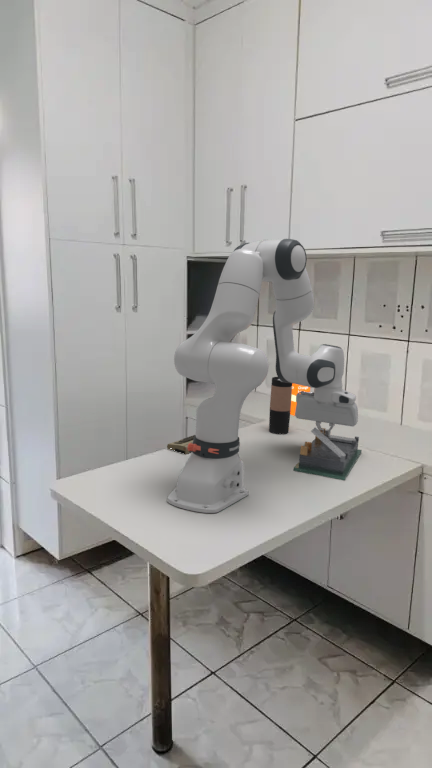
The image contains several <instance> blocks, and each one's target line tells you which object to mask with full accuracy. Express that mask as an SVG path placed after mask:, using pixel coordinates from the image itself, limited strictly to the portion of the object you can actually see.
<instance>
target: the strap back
mask: <svg viewBox="0 0 432 768" xmlns="http://www.w3.org/2000/svg"><path fill="white" fill-rule="evenodd" d="M323 435H325V434H323ZM326 437H327V438H328V439H329V440H334V441H341V442H347V443H352V440H356V439H355V437H354V438H352V437H346V436H339V435H334V434H333V435H332V434H330V436H326Z"/></svg>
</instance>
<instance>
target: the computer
mask: <svg viewBox="0 0 432 768" xmlns="http://www.w3.org/2000/svg"><path fill="white" fill-rule="evenodd" d="M195 435H196V434H193V435H190V436H187V437H184V438H182V439H179V440H176V441H172V442H169V443H168V444H167V445H166V449H167V450H168V449H170V448H172V449H171V450H175V451H177V452H176V453H179V452H181V453H180V454H182V453H184V455H188V453H189V454H190V451H188V448H187V447H188V444H189V443H192V442H193V439H194V436H195ZM171 450H170V451H171ZM175 451H174V452H175Z"/></svg>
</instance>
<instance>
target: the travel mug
mask: <svg viewBox="0 0 432 768" xmlns="http://www.w3.org/2000/svg"><path fill="white" fill-rule="evenodd" d="M291 397H292V383H285V382H282V381H281V380H280V379H279V378H278V376H274V377H272V378H271V387H270V399H269V400H270V401H269V421H268V423H269V424H268V432H270V433H272V434H275V435H286V434H288V433H289V429H290V418H291V414H290V412H291Z"/></svg>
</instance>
